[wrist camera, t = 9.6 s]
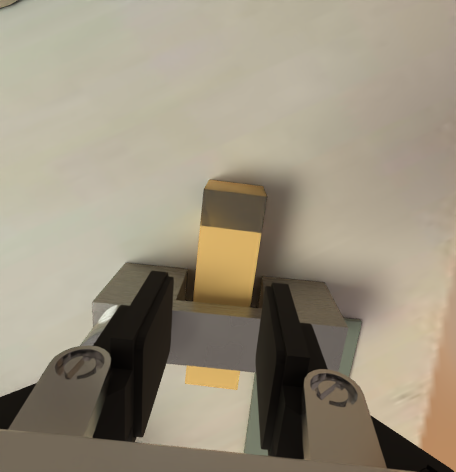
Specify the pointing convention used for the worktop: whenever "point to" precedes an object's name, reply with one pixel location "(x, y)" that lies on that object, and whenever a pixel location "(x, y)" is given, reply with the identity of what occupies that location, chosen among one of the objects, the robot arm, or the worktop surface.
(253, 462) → the robot arm
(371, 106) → the worktop surface
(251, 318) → the housing
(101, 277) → the worktop surface
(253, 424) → the mat
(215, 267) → the yellow rectangular block
